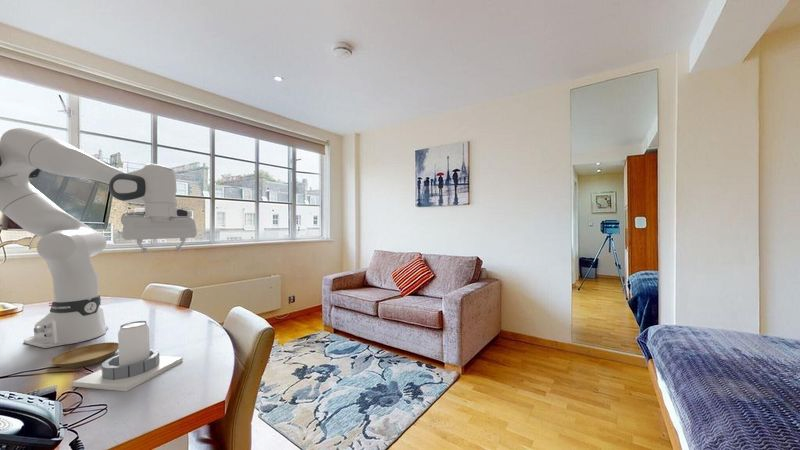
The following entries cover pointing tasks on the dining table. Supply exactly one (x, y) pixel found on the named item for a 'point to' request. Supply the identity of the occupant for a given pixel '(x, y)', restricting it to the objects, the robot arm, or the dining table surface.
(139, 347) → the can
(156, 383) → the dining table surface
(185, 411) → the dining table surface
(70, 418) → the dining table surface
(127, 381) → the housing base
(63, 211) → the robot arm
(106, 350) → the plant saucer
